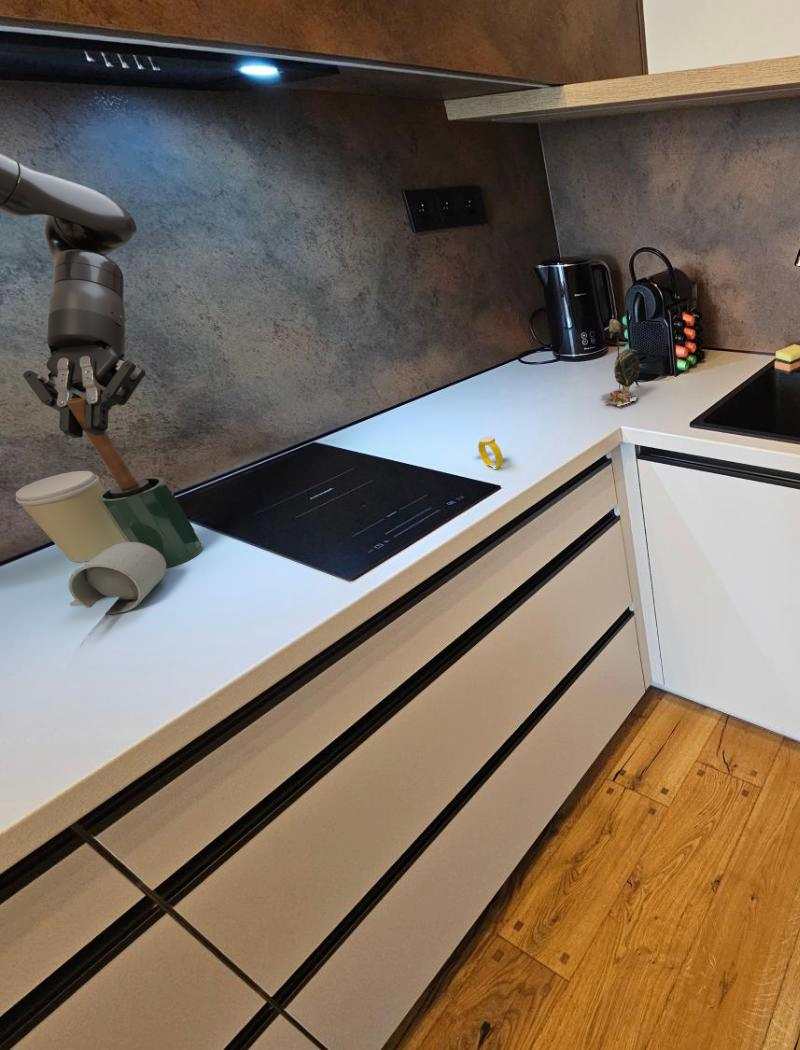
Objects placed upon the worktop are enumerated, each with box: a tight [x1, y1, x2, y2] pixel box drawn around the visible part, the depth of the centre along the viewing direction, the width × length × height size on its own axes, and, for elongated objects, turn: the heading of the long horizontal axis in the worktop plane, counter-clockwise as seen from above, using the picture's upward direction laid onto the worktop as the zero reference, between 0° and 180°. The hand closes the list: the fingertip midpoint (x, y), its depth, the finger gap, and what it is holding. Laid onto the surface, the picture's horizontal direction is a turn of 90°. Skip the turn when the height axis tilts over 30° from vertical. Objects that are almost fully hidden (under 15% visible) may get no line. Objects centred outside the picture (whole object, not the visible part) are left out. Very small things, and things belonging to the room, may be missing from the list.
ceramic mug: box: [68, 542, 167, 615], centre depth 80 cm, size 11×8×8 cm
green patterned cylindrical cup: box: [98, 476, 205, 569], centre depth 88 cm, size 8×8×12 cm
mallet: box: [66, 398, 152, 499], centre depth 83 cm, size 4×4×18 cm
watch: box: [477, 435, 504, 469], centre depth 112 cm, size 6×3×6 cm, turn 50°
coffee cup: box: [15, 470, 126, 563], centre depth 92 cm, size 9×9×12 cm
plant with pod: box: [604, 318, 641, 406], centre depth 138 cm, size 8×11×20 cm
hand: (83, 433), depth 79 cm, fingers closed on mallet, 2 cm apart
